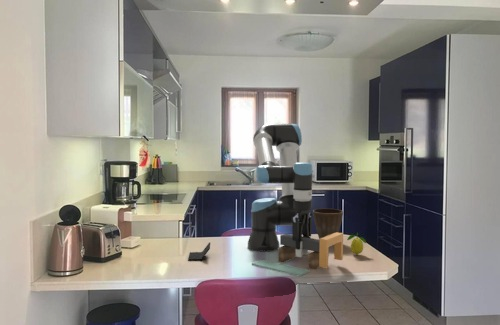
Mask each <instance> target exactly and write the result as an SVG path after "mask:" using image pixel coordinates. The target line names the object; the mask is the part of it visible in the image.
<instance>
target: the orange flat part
mask: <svg viewBox="0 0 500 325" xmlns="http://www.w3.org/2000/svg"><path fill="white" fill-rule="evenodd" d="M319 240H320V250H319V267H318V268H324V269H327V268H329V247H332V246H334V248H333V250H334V255H333V256H334V258H333V259H334V260H337V261H342V260H344V256H343V255H344V251H343V250H344V233H343V232H339V233H338V232H336V233H333V234H331V235H328V236H326V237H323V238H320V239H319Z"/></svg>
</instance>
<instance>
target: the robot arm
mask: <svg viewBox="0 0 500 325" xmlns="http://www.w3.org/2000/svg"><path fill="white" fill-rule="evenodd" d="M302 137H303V136H302V132H301V128H300V125H298V124H297V123H269V122H268V123H265V124H263V125H262V126H260V127H259V128H258V129H257V130H256V131H255V133H254V134H253V137H252V139H253V146H254V147H255V148H256V153H257V158H258V166H256V169H255V177H256V178H255V179H256V182H257V183H259V184H281V195H280V197H279V200H277V199H276V198H275V197H265V198H259V199H256V200H254V201H253V202H252V203H251V209H250V212H251V231H250V235H249V238H248V241H247V249H249V250H252V251H257V252H271V251H272V252H273V251H276V250H278V248H279V247H280V241H279V238H278V234H277V229H276V228H277V226H280V227H281V226H287V227H289V226H291V227H292V228H291V230H292V231H291V232H292V234H291V235H292V239H293V241H296V258H303V255H305V256H307V255H308V256H309V250H305V249H302V241H301V238H302V237H307V238H312V223H313V221H312V220H313V217H314V215H313V212H312V213H311V212H310V210H312V208H313V207H312V206H313V204H312V203H313V201H312V200H313V199H312V198H313V196H312V195H313V190H312V189H313V172H314V171H313V164H312V163H311V162H298V157H297V156H298V155H297V151H298V150H299V149H300V146H301V145H302V142H303V141H302V139H303V138H302ZM273 147H276V151H277V152H278V153H279V162H280V164H279V165H277V162H276V159H275V154H274V150H273Z"/></svg>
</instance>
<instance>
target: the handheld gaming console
mask: <svg viewBox="0 0 500 325" xmlns="http://www.w3.org/2000/svg"><path fill="white" fill-rule="evenodd" d="M210 250H211V242H208V243H207V245H206V246H205V247H204V249H203V250H202V251H192V252H189V255H188V258H187V261H188V262H189V261H190V262H196V261H197V262H200V261H201V262H202V261H203V258H205V257H206V254H207V253H208V252H209V251H210Z"/></svg>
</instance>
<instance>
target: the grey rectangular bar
mask: <svg viewBox="0 0 500 325" xmlns="http://www.w3.org/2000/svg"><path fill="white" fill-rule="evenodd" d="M279 240H280V241H279V246H284V245H285V246H290V247H295V248H296V241H293V239H292V234H289V233H283V234H280V239H279ZM301 241H302V249H305V250H308V251H310V252H314V251H315V252H319V250H320V239H319V238H317V239H316V238H312V237H311V238H307V237H303V236H302V238H301Z"/></svg>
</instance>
